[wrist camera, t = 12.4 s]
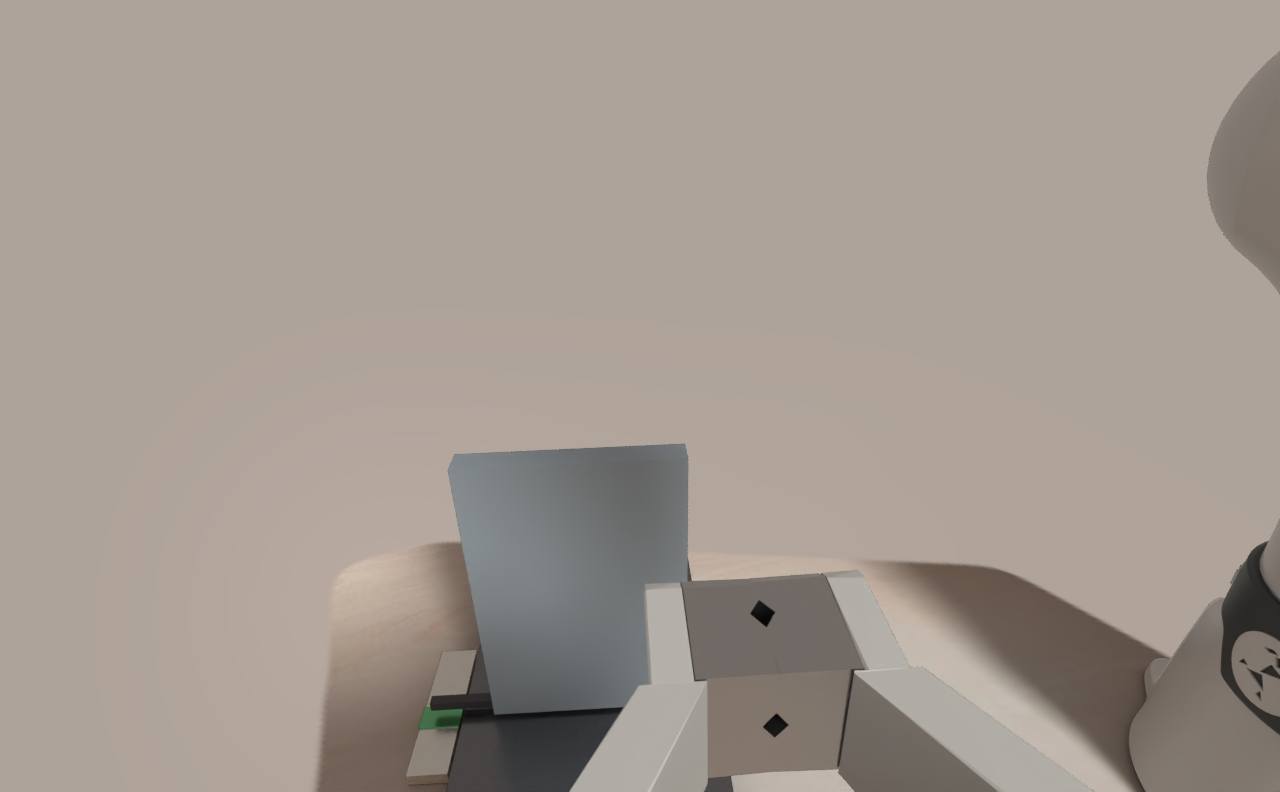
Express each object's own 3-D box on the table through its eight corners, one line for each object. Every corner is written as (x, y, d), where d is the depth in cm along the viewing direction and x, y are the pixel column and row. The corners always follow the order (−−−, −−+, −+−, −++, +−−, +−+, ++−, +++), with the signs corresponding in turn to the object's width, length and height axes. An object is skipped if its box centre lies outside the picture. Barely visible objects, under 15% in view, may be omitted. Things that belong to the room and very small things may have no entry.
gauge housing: (698, 609, 48) (699, 547, 46) (743, 868, 32) (749, 797, 30) (454, 622, 48) (441, 561, 45) (375, 893, 32) (348, 822, 29)
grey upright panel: (683, 683, 41) (685, 443, 33) (686, 703, 39) (688, 458, 31) (435, 697, 40) (376, 458, 32) (429, 718, 39) (366, 473, 31)
